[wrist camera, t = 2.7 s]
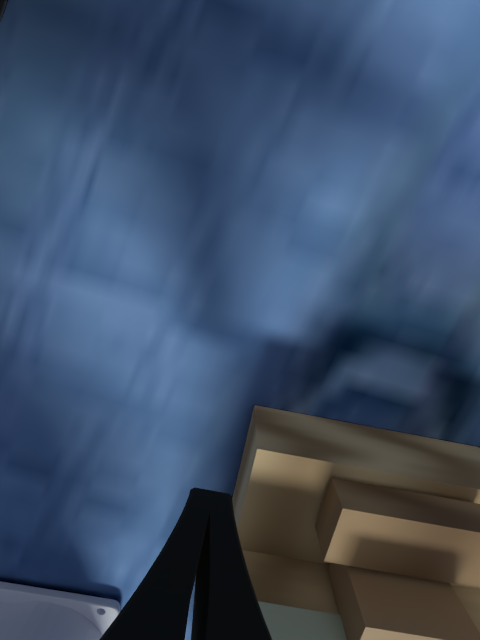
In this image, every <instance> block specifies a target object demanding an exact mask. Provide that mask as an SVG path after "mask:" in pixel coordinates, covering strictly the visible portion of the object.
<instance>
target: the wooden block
mask: <svg viewBox="0 0 480 640" xmlns="http://www.w3.org/2000/svg"><path fill="white" fill-rule="evenodd" d="M315 528H316V532H317V536H318V540H319V544H320V548H321V552H322V556H323V560H324V562H330V563H336V564H341V565H347V566H353V567H359V568H365V569H371V570H377V571H383V572H388V573H394V574H400V575H406V576H412V577H418V578H424V579H430V580H436V581H441V582H447V583H453V584H459V585H465V586H471V587H477V588H480V504H477V503H471V502H466V501H460V500H455V499H449V498H444V497H438V496H433V495H427V494H422V493H416V492H410V491H405V490H399V489H394V488H388V487H383V486H377V485H372V484H366V483H361V482H355V481H350V480H344V479H338V478H333V477H331V479H330V482H329V485H328V488H327V491H326V494H325V497H324V500H323V503H322V506H321V509H320V512H319V515H318V518H317V521H316V524H315Z"/></svg>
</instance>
